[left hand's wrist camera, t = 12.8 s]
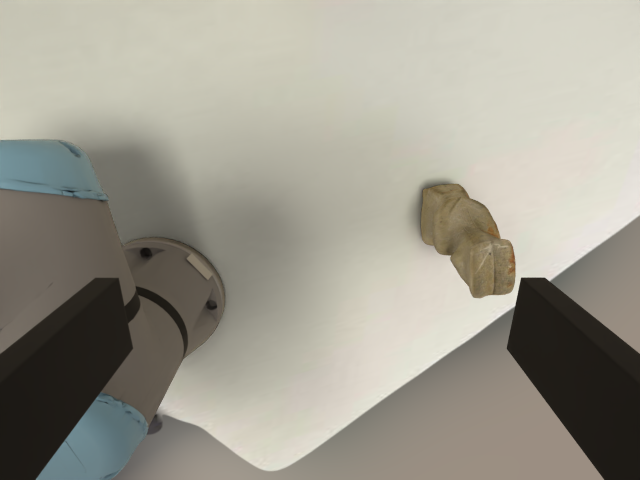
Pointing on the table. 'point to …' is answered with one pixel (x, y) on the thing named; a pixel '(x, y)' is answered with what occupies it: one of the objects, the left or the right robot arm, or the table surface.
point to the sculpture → (468, 239)
